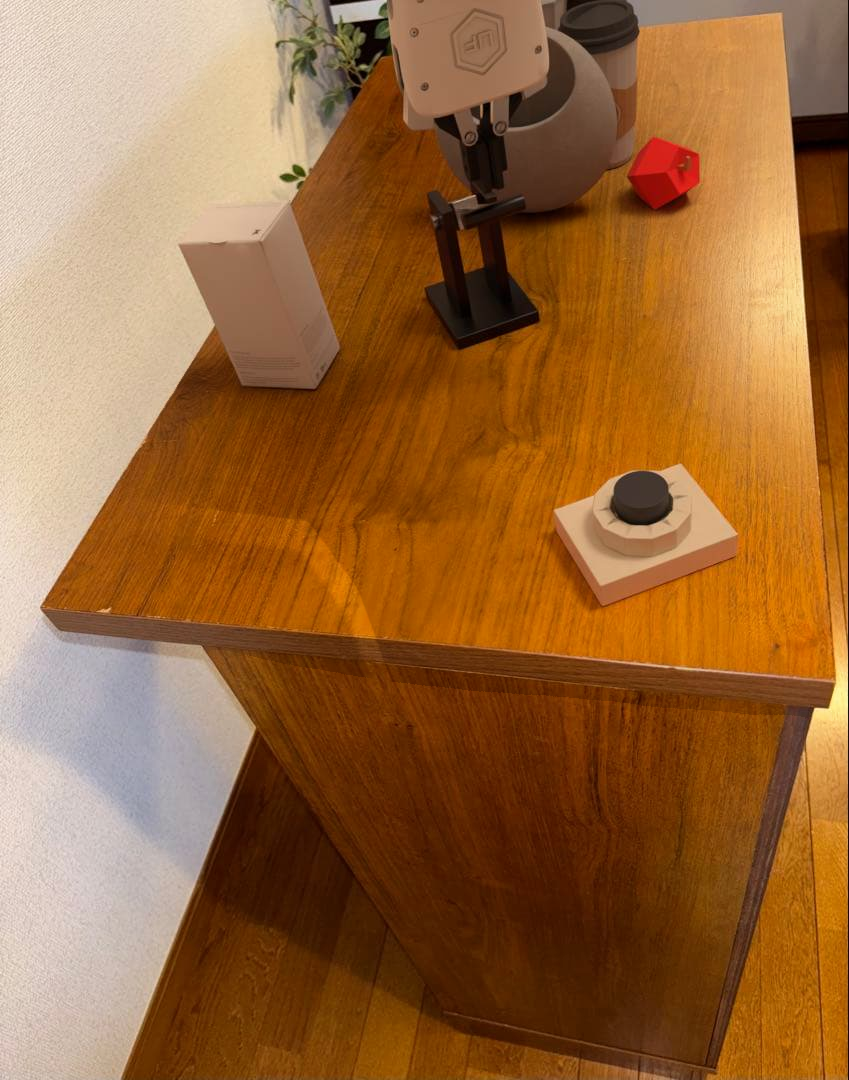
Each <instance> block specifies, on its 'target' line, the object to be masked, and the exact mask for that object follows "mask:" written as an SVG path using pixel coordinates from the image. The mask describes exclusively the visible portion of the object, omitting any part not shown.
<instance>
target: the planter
mask: <svg viewBox="0 0 849 1080" xmlns="http://www.w3.org/2000/svg"><path fill="white" fill-rule="evenodd" d="M545 28H546V35H547V43H548V52H549V70H548V73H547V75H546V77H547V84H546V86H545V87H544V88H543V89H541V90H539V91H538V92H536V93H535V94H533V95H531V96H530V97H528V98H526V99H523V100H522V101H521V103H520V105H519V106H518V108H517V109H516V111H515V113H514V114H513V116H512V117H511V119H510V121H509V127H508V130H507V132H506V133H505V134H504V135H503V136H504V143H505V151H506V158H507V166H508V169H507V170H506V171H503V180H504V188H503V189H500V190H497V189H494V188H493V190H492V191H493V192H494V193H495V194H496V195H497V200H498V201H499V200H502V199H505V198H508V197H511V196H514V195H517V194H520V193H521V194H522V195H523V197H524V199H525V203H526V210H524V211H521V212H520V213H524V214H535V213H536V214H537V213H545V212H551V211H554V210H557V209H560V208H564V207H565V206H568V205H570V204H572V203H574V202H575V201H577V200H579V199H580V198H582V197H583V196H585V195H586V194H587V193H589V191H590V190H592V189H593V188H594V187H595V185H596V184H597V183H599V181H600V180H601V178H602V177H603V175H604V174H605V172H606V170H608V169H607V167H608V165H609V162H610V160H611V157H612V154H613V151H614V147H615V142H616V135H617V114H616V108H615V103H614V98H613V95H612V92H611V89H610V86H609V84H608V81H607V79H606V77H605V75H604V73H603V72H602V70H601V68H600V67H599V65H598V64H597V63H596V61H595V60H594V59H593V57H592V56H591V55H590V54H589V53H588V52H587V51H586V50H585V49H584V48H583V47H582V46H581V45H580V44H579V43H577V42H576V41H575V40H573V39H572V38H570V37H569V36H567V35H565V34H563V33H561V32H559V31H557V30H554V29H552V28H549V27H545ZM470 111H471V114H472V117H473V120H474V124H475V127H476V129H477V125H478V124H480V123H479V121H480V120H481V117H480V105H478V106H475V107H472V108H470ZM434 131H435V136H436V140H437V143H438V146H439V149H440V152H441V154H442V156H443V159H444V160H445V162H446V164H447V165H448V167H449V169H450V170H451V172H452V173H453V175H454V176H455V177H456V179H457V180H458V181H459V183H461V184H462V186H464V187H465V188H466V189H467V190H468V191H469V192H471V187H470V182H469V181H468V180H467V178H466V176H465V173H464V168H463V162H462V156H461V150H460V144H459V140H458V139H457V138H455V137H453V136H452V135H450V134H448V133H447V132H445V131H443V130H442V129H440V128H435V129H434Z"/></svg>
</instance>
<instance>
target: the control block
mask: <svg viewBox="0 0 849 1080" xmlns="http://www.w3.org/2000/svg"><path fill="white" fill-rule="evenodd" d="M635 471H650V472H654V473H657V474H659V475H660V476H662V477H663V478H664V479H665V480H666V482H667V484H668V487H669V510H668V512H667V514H666V515H665V517H664V518H663V519H661V520H660V521H658V522H657V523H654V524H651V525H647V526H641V525H630V524H628V523H625V522H624V521H622V520H621V519H620V518H619V517H618V516H617V514H616V512H615V504H614V486H615V484H616V482H617V481H618V480H619V479H620V478H621V477H622V476H624V475H626V474H628V473H631V472H635ZM553 517H554V524H555V531H556V533H557V534H558V536H559V538H560V539H561V541H562V543H563V545H564V546H565V548H566V550H567V551H568V553H569V555H570V556H571V557H572V559H573V561H574V563H575V565H576V566H577V568H578V569H579V571H580V573H581V574H582V576H583V578H584V579H585V581H586V582H587V585H588V586H589V588H590V589H591V591H592V592H593V594H594V596H595V598H596V600H597V601H598V602H599V604H600V606H601V607H605V606H607V605H610V604H613V603H615V602H618V601H621V600H624V599H626V598H629V597H631V596H634V595H638V594H640V593H642V592H645V591H647V590H651V589H653V588H655V587H658V586H660V585H663V584H667V583H668V582H671V581H674V580H676V579H679V578H682V577H684V576H687V575H689V574H692V573H694V572H698V571H699V570H703V569H705V568H709V567H710V566H711V567H712V566H713V565H716V564H719V563H721V562H724V561H727V560H729V559H733V558H735V557H737V555H738V542H739V541H738V540H739V534H738V532H737V531H736V530H735V529H734V528H733V526H732V525H731V523H730V522H729V521H728V520H727V519H726V517H724V515H723V514H722V513H721V511H720V510H719V509H718V507H717V506H716V504H714V502H713V501H712V500H711V498H709V496H708V495H707V494H706V493H705V491H704V490H703V489H702V487H701V486H700V485H699V484H698V483H697V481H696V480H695V479H694V478H693V476H692V475H691V474H690V473H689V471H688V470H687V469H686V468H685V467H684V465H683V464H682V463H678V464H675V465H672V466H670V467H667V468H663V469H661V470H640V469H639V470H633V469H632V470H630V471H627V472H624V473H621V474H619V475H616V476H613V477H610V478H609V479H608V480H607V481H606V482H605V483H603V485H602V486H601V487H600V488H599V489H598V490H597V491H596V492H595V493H594V494H593V495H590V496H588V497H585V498H582V499H580V500H577V501H574V502H572V503H569V504H566V505H564V506H560V507H559V508H558V507H557V508H556V509H553Z"/></svg>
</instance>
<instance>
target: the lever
mask: <svg viewBox="0 0 849 1080" xmlns="http://www.w3.org/2000/svg"><path fill="white" fill-rule="evenodd" d="M447 203H448V205H449V206H450V207H451V209H452V210H453V214H454V220H455V225H456V230H457V231H463V230H465V231H468V230H472V229H474V228H477V226H480V225H483V224H486V223H489V222H492V221H495V220H498V219H500V220H501V219H503V218H506V217H509V216H513V215H515V214H518V213H522V212H521V211H524V210H526V203H525V199H524V197H523V195H522V194H521V193H520V194H517V195H514V196H511V197H508V198H505V199H502V200H499V201H496V202H493V203H490V204H482V205H479V204H478V201H477V197H476V195H472V194H471V195H466V196H463V197H460V198H457V199H454V200H451V201H449V202H447Z"/></svg>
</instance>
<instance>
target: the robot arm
mask: <svg viewBox="0 0 849 1080" xmlns="http://www.w3.org/2000/svg"><path fill="white" fill-rule="evenodd" d="M386 8H387V18H388V28H389V36H390V44H391V45H390V46H391V52H392V59H393V65H394V70H395V77H396V81H397V84H398V87H399V90H400V92H401V94H402V96H403V109H402V120H403V122H404V124H405V125H406V127H408V129H409V130H411V131H417V132H418V131H430V130H431V131H432V130H435V128H440V129H442V130H443V131H445V132H447V133H448V134H450V135H452V136H453V137H455V138H457V139H458V140H459V144H460V150H461V156H462V162H463V168H464V173H465V176H466V178H467V180H468V181H469V182H474V183H475V184H476V185H477V187H478V188H479V189H480V190H481V191H482V193H483V194H484V195H485V194H488V193H491V190H493V188H494V189H497V190H500V189H503V188H504V180H503V171H506V170H507V169H508V166H507V158H506V151H505V143H504V136H503V135H504V134H505V133H506V132H507V130H508V127H509V121H510V119H511V117H512V116H513V114H514V113H515V111H516V109H517V108H518V106H519V105H520V103H521V101H522V100H523V99H526V98H528V97H530V96H531V95H533V94H535V93H536V92H538V91H539V90H541V89H543V88H544V87H545V86H546V84H547V77H546V75H547V73H548V70H549V52H548V43H547V35H546V28H545V22H544V16H543V11H542V5H541V0H386ZM478 105H480V117H481V120H480V121H479V123H480V124H478V125H477V129H476V127H475V124H474V120H473V117H472V114H471V111H470V108H472V107H475V106H478Z"/></svg>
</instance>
